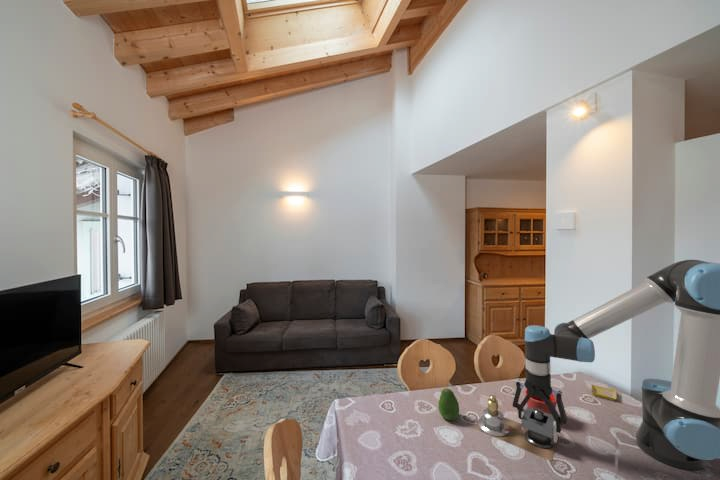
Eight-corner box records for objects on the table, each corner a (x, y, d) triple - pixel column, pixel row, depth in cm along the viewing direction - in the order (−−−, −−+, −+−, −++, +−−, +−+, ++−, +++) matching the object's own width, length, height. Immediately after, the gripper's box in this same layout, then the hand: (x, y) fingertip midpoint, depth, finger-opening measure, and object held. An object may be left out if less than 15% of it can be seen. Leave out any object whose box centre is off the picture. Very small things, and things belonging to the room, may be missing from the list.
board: (558, 439, 103) (558, 437, 103) (551, 463, 92) (551, 461, 92) (486, 412, 120) (486, 410, 120) (473, 430, 109) (473, 428, 109)
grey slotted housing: (556, 424, 102) (556, 416, 102) (551, 438, 96) (551, 429, 96) (527, 414, 108) (527, 406, 108) (521, 426, 102) (521, 418, 102)
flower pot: (563, 429, 108) (562, 403, 108) (531, 426, 110) (530, 401, 110) (550, 411, 119) (550, 388, 119) (521, 409, 121) (520, 386, 121)
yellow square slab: (616, 394, 130) (616, 390, 130) (616, 403, 123) (616, 398, 123) (591, 388, 135) (591, 384, 135) (591, 396, 129) (590, 392, 129)
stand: (556, 438, 102) (555, 409, 102) (552, 453, 96) (551, 422, 96) (527, 427, 108) (527, 400, 108) (521, 440, 102) (521, 411, 102)
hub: (513, 425, 110) (512, 395, 110) (504, 441, 102) (504, 408, 102) (483, 414, 117) (482, 385, 117) (473, 428, 109) (472, 397, 109)
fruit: (442, 410, 122) (442, 382, 121) (461, 417, 117) (461, 387, 117) (436, 420, 115) (435, 391, 115) (455, 428, 111) (455, 397, 110)
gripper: (577, 376, 97) (578, 442, 98) (507, 359, 112) (508, 416, 112) (574, 385, 92) (576, 455, 92) (501, 366, 106) (503, 426, 107)
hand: (539, 433), depth 102 cm, fingers closed on grey slotted housing, 9 cm apart
